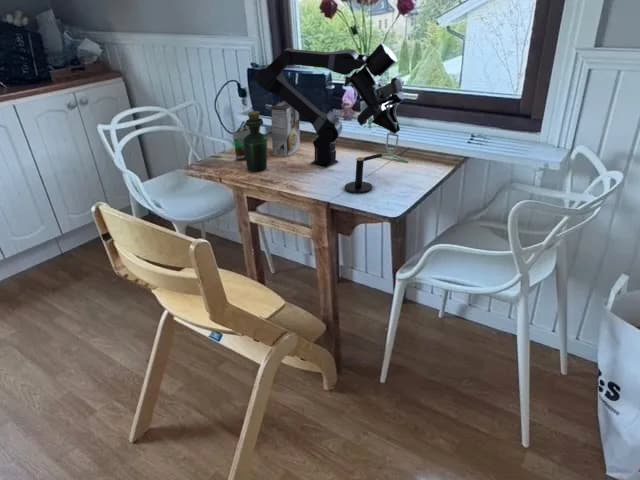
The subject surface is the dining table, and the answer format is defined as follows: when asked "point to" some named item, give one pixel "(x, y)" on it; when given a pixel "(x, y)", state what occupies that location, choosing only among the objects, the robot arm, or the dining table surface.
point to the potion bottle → (255, 144)
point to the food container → (240, 142)
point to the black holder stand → (360, 177)
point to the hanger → (391, 150)
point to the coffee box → (285, 129)
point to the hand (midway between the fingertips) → (397, 131)
